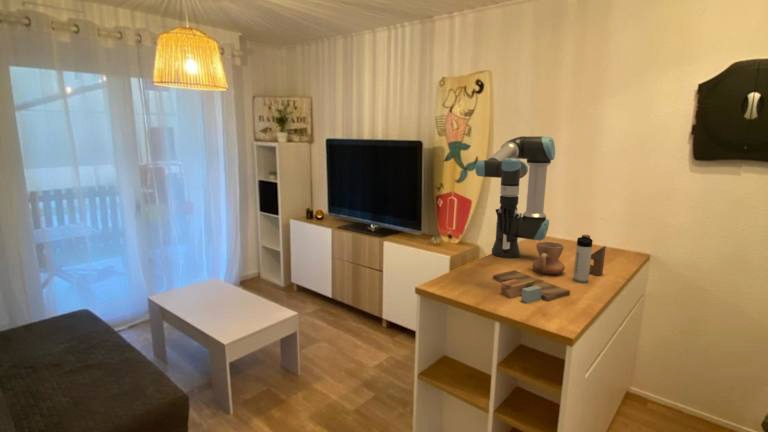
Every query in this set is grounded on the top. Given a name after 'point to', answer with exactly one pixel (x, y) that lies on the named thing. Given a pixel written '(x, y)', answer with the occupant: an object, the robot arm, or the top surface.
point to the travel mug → (582, 259)
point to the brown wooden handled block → (514, 287)
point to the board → (547, 289)
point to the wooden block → (597, 260)
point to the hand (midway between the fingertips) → (506, 248)
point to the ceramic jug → (549, 258)
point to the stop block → (531, 294)
